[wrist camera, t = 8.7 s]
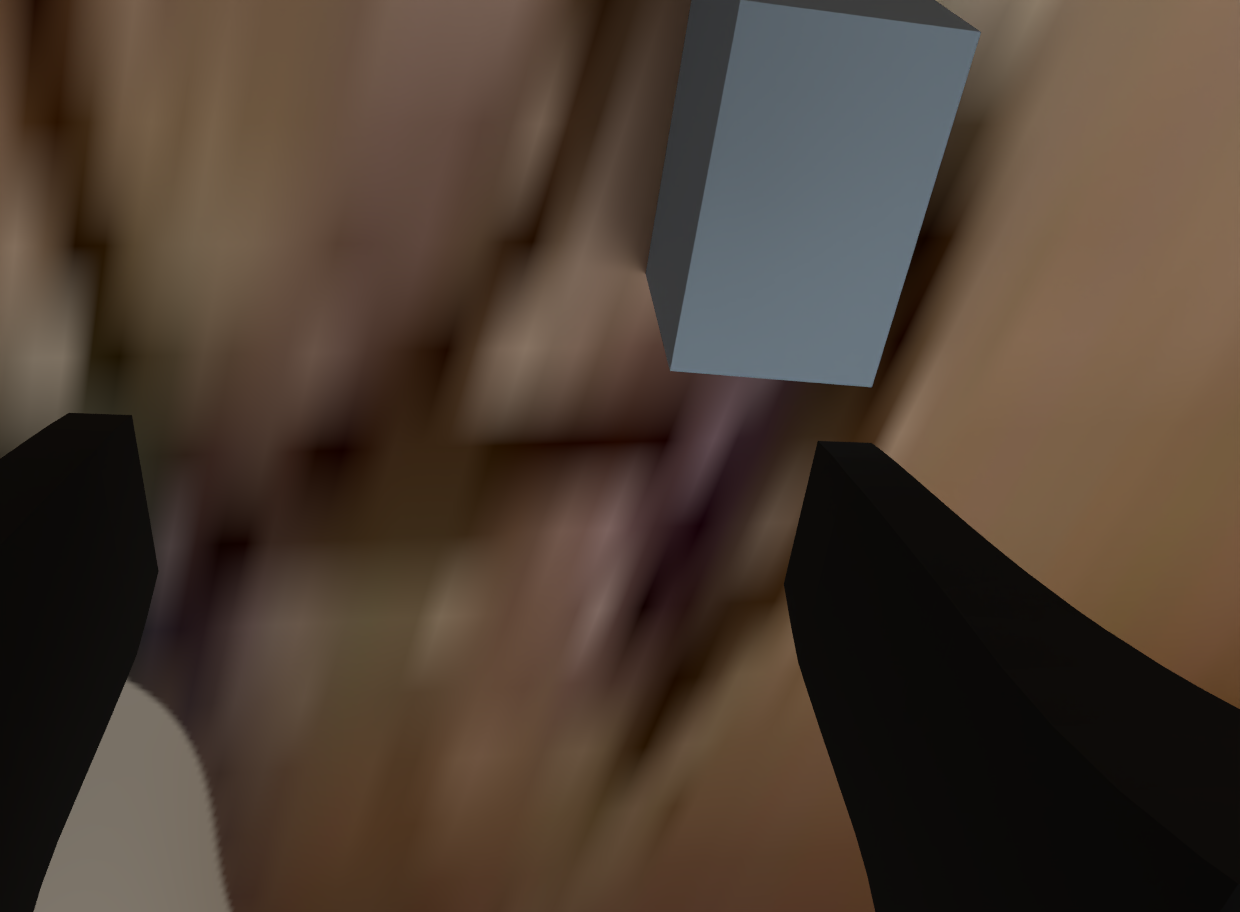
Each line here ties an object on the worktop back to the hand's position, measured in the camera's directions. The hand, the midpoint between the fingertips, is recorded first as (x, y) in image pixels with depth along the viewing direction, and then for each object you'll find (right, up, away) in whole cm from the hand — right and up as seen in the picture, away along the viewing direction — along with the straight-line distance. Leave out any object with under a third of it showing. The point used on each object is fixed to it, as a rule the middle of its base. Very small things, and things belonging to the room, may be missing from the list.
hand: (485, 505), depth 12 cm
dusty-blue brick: (+4, +7, +9) cm, 12 cm away
